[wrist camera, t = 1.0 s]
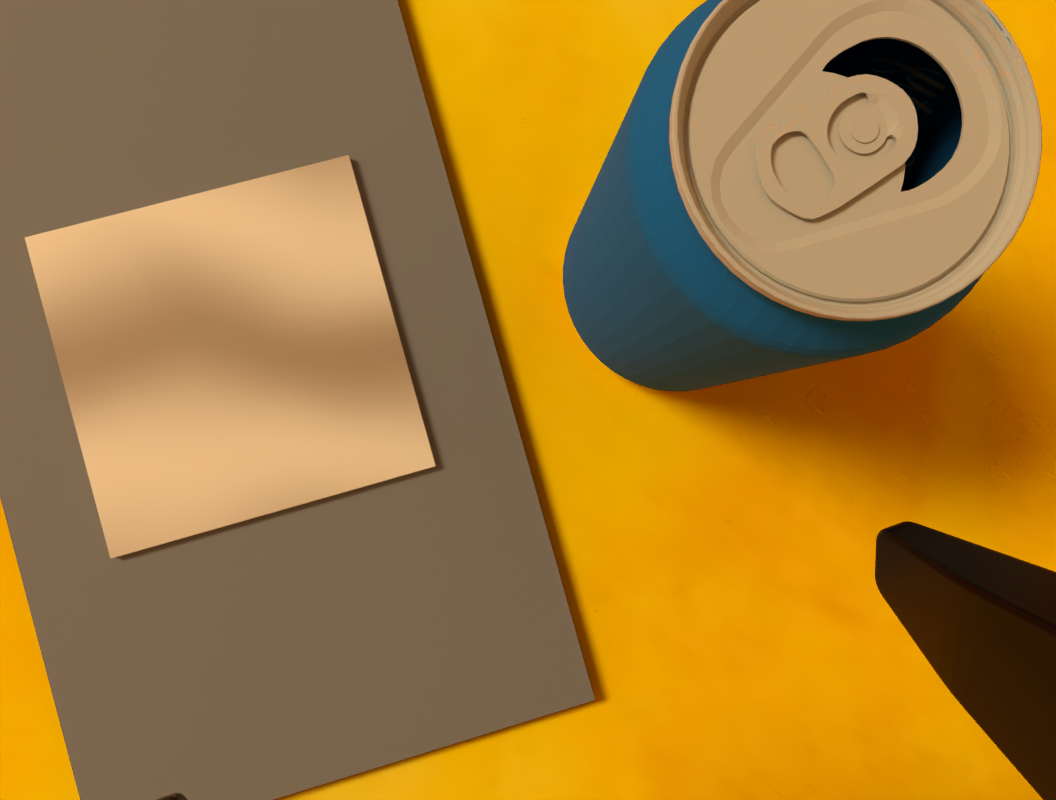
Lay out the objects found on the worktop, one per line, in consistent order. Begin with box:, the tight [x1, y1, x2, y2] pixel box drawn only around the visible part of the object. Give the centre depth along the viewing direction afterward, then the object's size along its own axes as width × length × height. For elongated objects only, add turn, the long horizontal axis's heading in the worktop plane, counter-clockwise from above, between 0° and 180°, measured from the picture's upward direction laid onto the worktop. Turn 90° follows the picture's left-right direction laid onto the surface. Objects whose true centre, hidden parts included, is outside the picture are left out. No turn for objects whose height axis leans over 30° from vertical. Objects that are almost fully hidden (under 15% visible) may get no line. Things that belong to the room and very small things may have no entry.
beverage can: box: [563, 0, 1042, 391], centre depth 18 cm, size 6×6×12 cm
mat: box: [0, 0, 595, 800], centre depth 23 cm, size 24×14×1 cm, turn 16°
